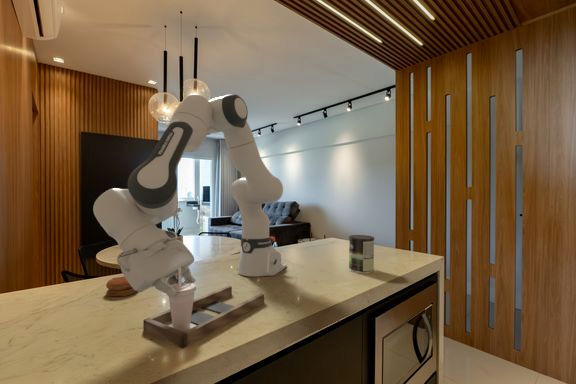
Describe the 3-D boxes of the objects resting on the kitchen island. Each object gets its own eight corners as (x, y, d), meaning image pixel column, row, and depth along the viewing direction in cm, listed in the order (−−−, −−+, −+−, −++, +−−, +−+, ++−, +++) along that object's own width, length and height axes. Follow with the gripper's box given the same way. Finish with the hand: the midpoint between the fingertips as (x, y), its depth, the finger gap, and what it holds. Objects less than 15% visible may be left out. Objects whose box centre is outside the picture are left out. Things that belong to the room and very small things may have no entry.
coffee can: (350, 273, 111) (350, 238, 111) (348, 266, 121) (348, 234, 121) (376, 274, 109) (376, 239, 109) (372, 267, 119) (372, 235, 120)
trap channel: (228, 293, 87) (228, 285, 87) (264, 302, 80) (264, 294, 80) (143, 330, 63) (143, 319, 63) (182, 348, 56) (182, 336, 56)
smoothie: (161, 328, 63) (162, 268, 64) (187, 319, 68) (188, 263, 68) (174, 338, 59) (174, 273, 59) (201, 327, 64) (201, 267, 64)
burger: (135, 296, 85) (136, 280, 85) (101, 299, 82) (101, 283, 82) (142, 286, 94) (142, 272, 94) (111, 288, 91) (111, 274, 91)
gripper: (122, 244, 55) (167, 296, 53) (178, 231, 75) (211, 268, 73) (102, 265, 55) (146, 318, 54) (162, 246, 75) (195, 284, 74)
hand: (184, 289), depth 64 cm, fingers closed on smoothie, 6 cm apart
